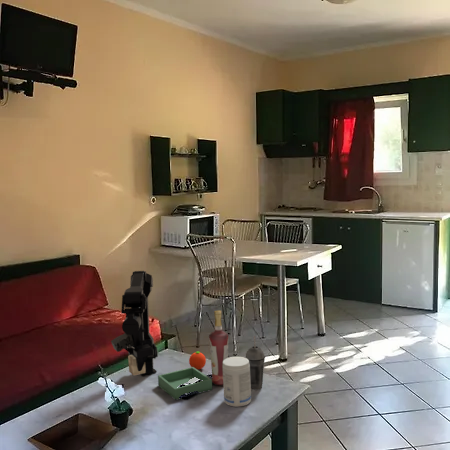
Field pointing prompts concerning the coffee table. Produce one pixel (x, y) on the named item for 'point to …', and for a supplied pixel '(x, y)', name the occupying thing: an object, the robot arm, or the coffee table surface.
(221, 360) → the liquor
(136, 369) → the beech block
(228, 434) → the coffee table surface
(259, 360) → the beverage cup
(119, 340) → the robot arm
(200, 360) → the clementine
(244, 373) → the supplement tub
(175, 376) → the green bin
